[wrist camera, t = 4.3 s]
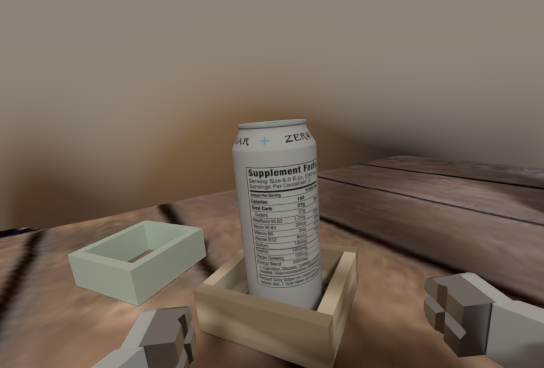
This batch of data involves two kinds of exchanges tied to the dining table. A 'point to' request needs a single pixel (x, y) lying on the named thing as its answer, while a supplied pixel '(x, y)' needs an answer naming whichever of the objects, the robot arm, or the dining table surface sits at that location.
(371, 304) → the dining table surface
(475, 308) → the robot arm
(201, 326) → the birch holder
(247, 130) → the energy drink can
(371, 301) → the dining table surface
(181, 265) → the sage socket
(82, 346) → the dining table surface
